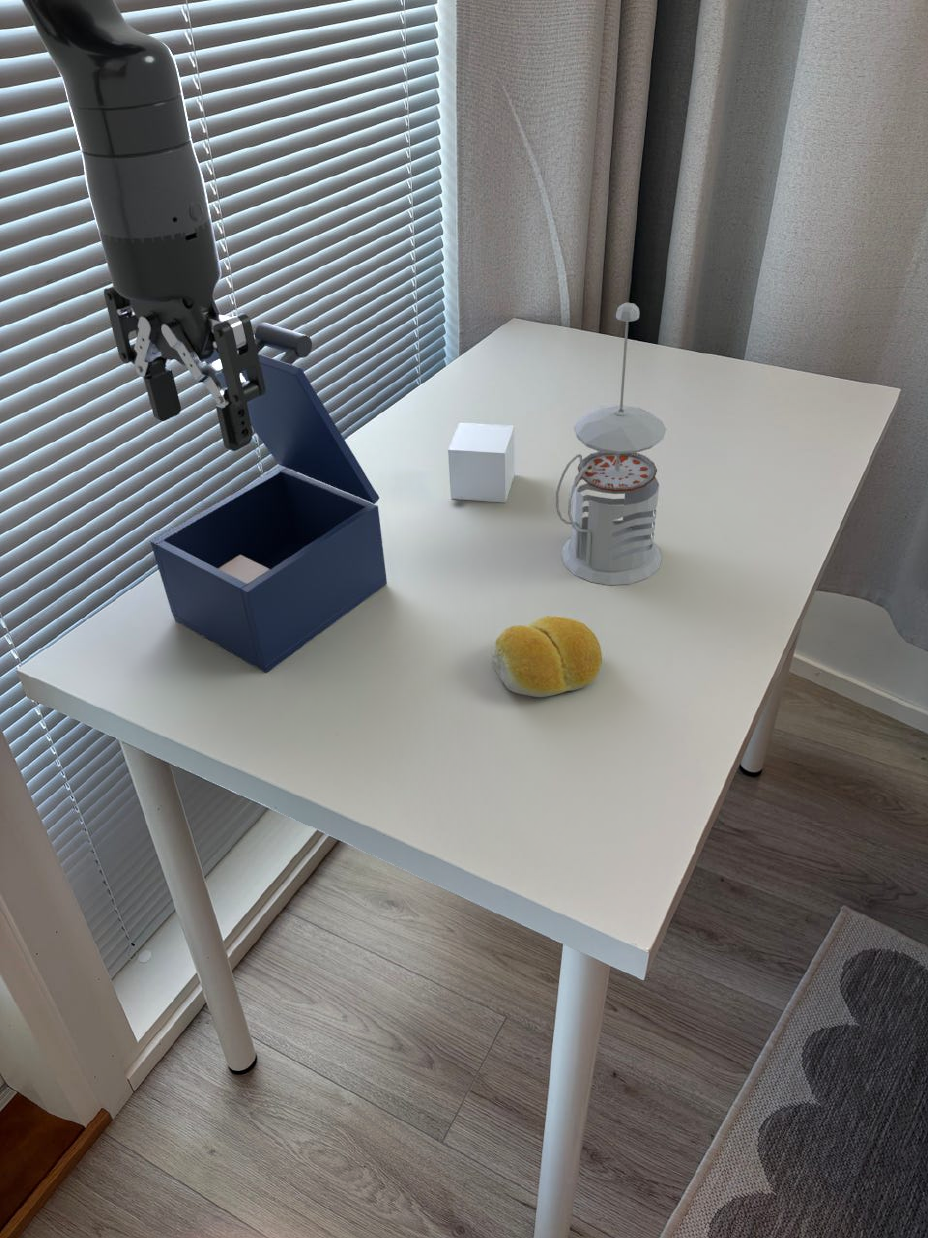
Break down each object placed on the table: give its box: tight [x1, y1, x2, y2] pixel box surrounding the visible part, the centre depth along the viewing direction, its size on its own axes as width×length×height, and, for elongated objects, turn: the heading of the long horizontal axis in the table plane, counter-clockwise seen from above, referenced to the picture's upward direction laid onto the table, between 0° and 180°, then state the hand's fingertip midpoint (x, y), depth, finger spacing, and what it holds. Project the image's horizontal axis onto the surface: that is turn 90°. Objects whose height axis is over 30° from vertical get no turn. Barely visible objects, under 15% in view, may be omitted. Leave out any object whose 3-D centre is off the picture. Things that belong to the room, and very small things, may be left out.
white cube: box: [447, 422, 516, 504], centre depth 102 cm, size 6×6×6 cm
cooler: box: [150, 465, 388, 674], centre depth 87 cm, size 16×13×9 cm
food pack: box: [218, 555, 270, 584], centre depth 85 cm, size 4×4×5 cm
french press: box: [555, 302, 667, 586], centre depth 85 cm, size 10×12×25 cm
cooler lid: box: [203, 322, 380, 505], centre depth 82 cm, size 16×13×5 cm
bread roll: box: [491, 615, 603, 698], centre depth 79 cm, size 8×9×4 cm
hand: (203, 430), depth 75 cm, fingers open, 8 cm apart
